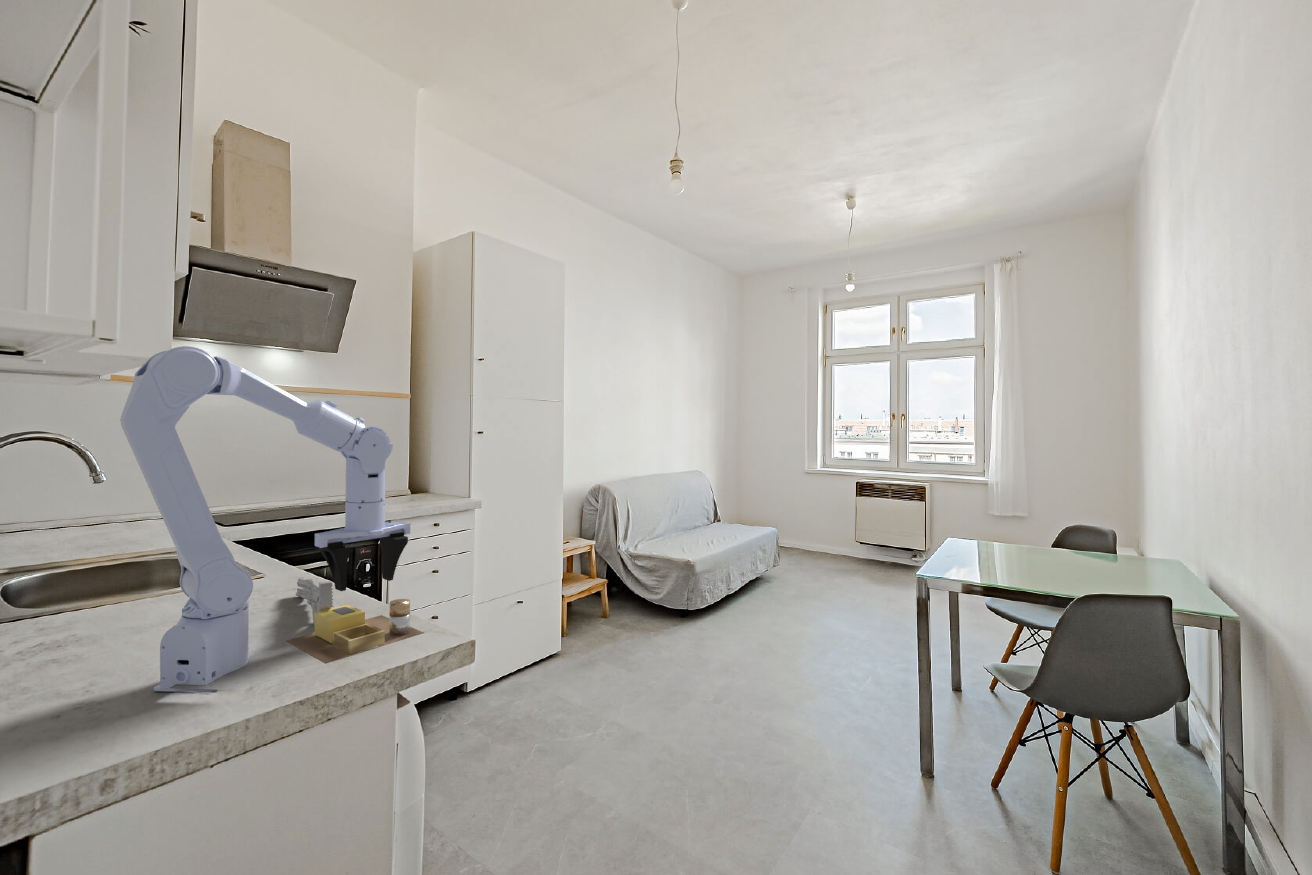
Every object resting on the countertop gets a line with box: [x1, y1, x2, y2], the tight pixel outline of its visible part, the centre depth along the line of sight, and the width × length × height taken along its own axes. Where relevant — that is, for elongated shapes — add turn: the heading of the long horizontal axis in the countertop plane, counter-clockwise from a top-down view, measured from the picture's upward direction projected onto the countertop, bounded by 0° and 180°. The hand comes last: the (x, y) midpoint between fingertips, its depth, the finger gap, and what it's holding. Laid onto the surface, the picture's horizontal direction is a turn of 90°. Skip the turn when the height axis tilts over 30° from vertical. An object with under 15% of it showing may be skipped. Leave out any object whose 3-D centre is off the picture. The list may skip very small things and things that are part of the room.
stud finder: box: [314, 604, 366, 643], centre depth 90 cm, size 5×6×4 cm
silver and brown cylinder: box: [388, 598, 411, 636], centre depth 92 cm, size 3×3×5 cm
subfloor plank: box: [285, 614, 425, 664], centre depth 90 cm, size 15×13×3 cm
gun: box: [295, 577, 334, 626], centre depth 102 cm, size 2×30×8 cm, turn 38°
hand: (364, 584), depth 93 cm, fingers open, 7 cm apart
